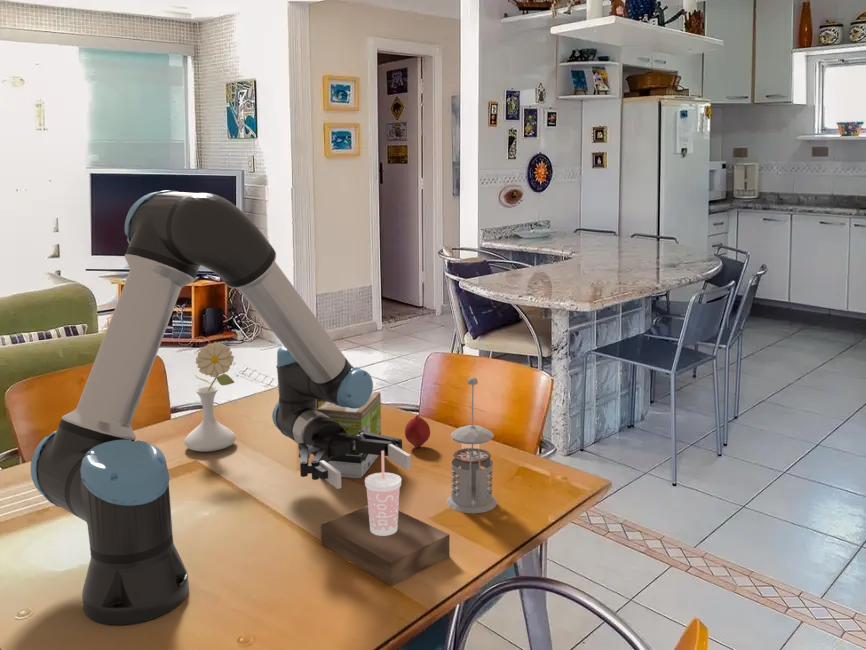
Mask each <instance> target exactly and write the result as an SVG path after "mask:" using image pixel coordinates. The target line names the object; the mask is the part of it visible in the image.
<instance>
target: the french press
mask: <svg viewBox="0 0 866 650" xmlns="http://www.w3.org/2000/svg"><path fill="white" fill-rule="evenodd" d="M478 383H479V381H478V378H477V377H473V376H471V377H469V378H468V379H467V384H468V385H471V424H469V425H468V424H467V425H465V426H460V427H458V428H456V429H455V430H453V431H452V432H451V434H450V437H451V438H452V440H453V441H455V442H456V443H459V444H465V445H471V447H467V448H464V447H463V448H461V449H457V450H456V451H455V452H453V457H454V458H452V461H451V464H450V465H451V467H450V468H451V469H452V471H451V476H452V477H451V480H450V481H451V482H452V483H451V490H450V491H451V492H450V493H451V494H450V496H448V497H447V500H446V504H447V506H448V507H449V508H450V509H452V510H454V511H457V512H458V513H459V512H460V513H463V514H480V513H486V512H489V511H492V510H493V509H494V508H496V507H497V504H498V501H497V499H496V498H495V496H493V467H494V466H493V464H494V463H493V460H492V459H491V458H492V457H491V456H492V454H491V453H490V452H489V451H487V450H486V449H482V448H477V447H474V445H482V444H484V443H488V442H490V441H491V440H492V439H493V438H494V435H495V434H494V433H493V431H491V430H489V429H487V428H485V427H483V426H480V425H474V386H475V385H478ZM482 467H483V468H482ZM456 481H457V482H456ZM488 482H489V483H488Z"/></svg>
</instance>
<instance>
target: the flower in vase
mask: <svg viewBox="0 0 866 650" xmlns="http://www.w3.org/2000/svg"><path fill="white" fill-rule="evenodd" d="M234 358H235V356H234V355H233V352H232V350H231V347H230V346H228V345H225V344H223V343H222V342H220V343H219V342H218V341H214V342H212V343H207V345H205V346H202V347H201V348H200V350H199V351H198V353H197V357H196V359H195V360H196V361H195V364H196V365H197V369H198V371H199V373H201V374H204V375H205V376H209V377H211V378H214V379H213V380H212V382H209V380H207V379H204V378H202V377H198V376H197V375H195V373H194V376H195V377H196V379H199V380H201V381H203V382H205V383H208V384H210V385H208V386H201V387H197V388H195V390H194V391H195V392H196V394H197V395H198V396H199V398H200V401H201V404H202V405H201V406H202V412H203V417H202V421H201V422H200V424H198V425H197V426H196V427H195V428H193V429H192V430H191V432H189V433H188V434H187V436H186V437H185V439H184V441H183V442H184V445H185V447H186V448H188V449H189V450H191V451H196V452H214V451H219V450H223V449H225V448H228V447H230V446H232V445H233V444H234V443H235V441H236V439H237V437H236V435H235V433H234V432H233V431H232V430H231V429H230V428H228V427H226V426H225V425H224V424H222V423H220V422H219V421H217V419H216V418H215V415H214V400H215V396H216V394H217V392H218V391H219V387H217V386H213V385H214V383H215V382H216V381H217V382H218V384H219V385H220V386H228V385H232V384H234V383H235V381H234V380H233V378H231V377H230V375H228V374H226V373H228V372H229V370H230V367H231V366H232V364H233V362H234Z"/></svg>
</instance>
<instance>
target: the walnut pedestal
mask: <svg viewBox="0 0 866 650" xmlns="http://www.w3.org/2000/svg"><path fill="white" fill-rule="evenodd" d="M320 538H321V539H320V540H321V547H322V546H323V548H324V549H325V550H327V551H329V550H330V552H331V553H333V554H335V555H336V554H337V555H336V556H338V555H339V556H338V557H340V558H342V559H343V558H344V560H345V559H346V560H345V561H347V560H348V561H347V562H349V561H350V562H351V563H350V562H349V563H350V564H352V563H353V564H352V565H354V566H355V565H356V566H355V567H358V569H359V568H360V569H361V570H363V571H364V572H366V573H368V574H369V575H372V576H373V577H375V578H377V579H378V580H380V581H382V582H383V583H384V584H386V585H389V587H392V586H394V585H396V584H398V583H400V582H402V581H403V580H406V579H408V578H410V577H412V576H414V575H416V574H417V573H420V572H422V571H424V570H426V569H427V568H430V567H431V566H434V565H436V564H438V563H439V562H442V561H443V560H445V559H447V558H449V557H450V534H449V533H448V532H445V531H443V530H440V529H438V528H437V527H434V526H432V525H431V524H428V523H426V522H423V521H422V520H419V519H417V518H415V517H413V516H412V515H409V514H406V513H404V512H402V511H400V510H398V527H397V531H396V532H395V533H394V534H391V535H387V536H379V535H375V534H373V533H371V531H370V522H369V510H368V505H365V506H363V507H361V508H359V509H356V510H354V511H351V512H348V513H345V514H343V515H341V516H339V517H336V518H334V519H331V520H328V521H327V522H324V523H321V524H320Z"/></svg>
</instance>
